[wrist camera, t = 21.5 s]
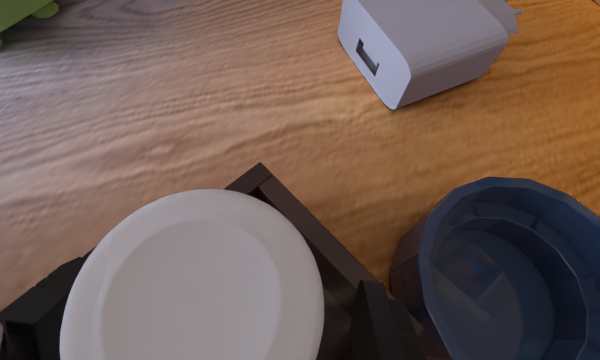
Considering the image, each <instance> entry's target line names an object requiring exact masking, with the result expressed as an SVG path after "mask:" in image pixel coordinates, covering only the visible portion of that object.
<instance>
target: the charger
mask: <svg viewBox="0 0 600 360" xmlns="http://www.w3.org/2000/svg"><path fill="white" fill-rule="evenodd" d="M507 1H508V0H343V5H342V10H341V15H340V21H339V26H338V37H339V40H340V42H341V44H342V46H343V48H344V49H345V51H346V52H347V54H348V55H349V56H350V58H351V59H352V61H353V62H354V63H355V65H356V66H357V67H358V69H359V70H360V72H361V73H362V74H363V76H364V77H365V78H366V80H367V81H368V83H369V84H370V85H371V87H372V88H373V89H374V91H375V92H376V94H377V95H378V96H379V98H380V99H381V100H382V102H383V103H384V104H385V105H386V106H387V107H389V108H390V109H397V108H400V107H402V106H405V105H407V104H410V103H413V102H415V101H418V100H421V99H423V98H426V97H428V96H431V95H434V94H436V93H439V92H442V91H444V90H447V89H449V88H452V87H455V86H457V85H460V84H463V83H465V82H468V81H471V80H473V79H476V78H478V77H481V76H482V75H484V73H485V72H486V71H487V69H488V68H489V67H490V66H491V64H492V63H493V62H494V60H495V59H496V58H497V56H498V55H499V54H500V53H501V51H502V50H503V49H504V47H505V46H506V44H507V42H508V36H509V35H512V34H515V33H518V24H517V21H516V18H515V15H518V14H521V13H522V9H521V8H518V9H515V10H513V9H512V8H511V7H510V6H509V5H508V4H507V3H506V2H507Z"/></svg>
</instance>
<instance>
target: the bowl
mask: <svg viewBox="0 0 600 360" xmlns="http://www.w3.org/2000/svg"><path fill="white" fill-rule="evenodd" d="M390 274H391V285H392V295H393V296H394V297H395V298H396V299H397V300H398V301H399V302H400V303H401V304H402V305H403V306H404V308H405V309H406V310H407V311H408V312H409V313H410V314H411V315H412V316H413V317H414V318H415V319H416V320H417V321H418V322H419V323H420V324H421V325H422V326H423V327H424V330H423V331H422V332H421V334H420V335H419V336H418V339H419V340H420V343H421V345H422V348H423V350H424V353H425V356H426V358H427V360H600V217H599V216H597V215H596V214H595V213H593V212H592V211H591V210H589V209H588V208H587V207H585V206H584V205H582V204H581V203H580V202H578V201H577V200H576V199H574V198H573V197H572V196H570V195H569V194H566V193H564V192H561V191H558V190H556V189H553V188H551V187H548V186H546V185H543V184H540V183H538V182H535V181H533V180H530V179H523V178H504V177H485V178H483V179H480V180H477V181H474V182H471V183H469V184H466V185H463V186H460V187H457V188H455V189H453V190H452V191H451V192H450V193H448V194H447V195H446V196H445V197H444V198H443V199H441V200H440V201H439V202H438V203H437V204H436V205H435V206H433V207H432V208H431V209H430V210H429V211H428V212H427V213H425V214H424V215H423V216H422V217H421V218H420V219H419V220H418V221H417V222H416V223H415V224H414V225H413V226H412V227H411V228H410V230H409V231H408V232H407V233H406V234H405V235H404V236H403V237H402V238H401V240H400V242H399V246H398V249H397V252H396V255H395V258H394V261H393V264H392V268H391V273H390Z"/></svg>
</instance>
